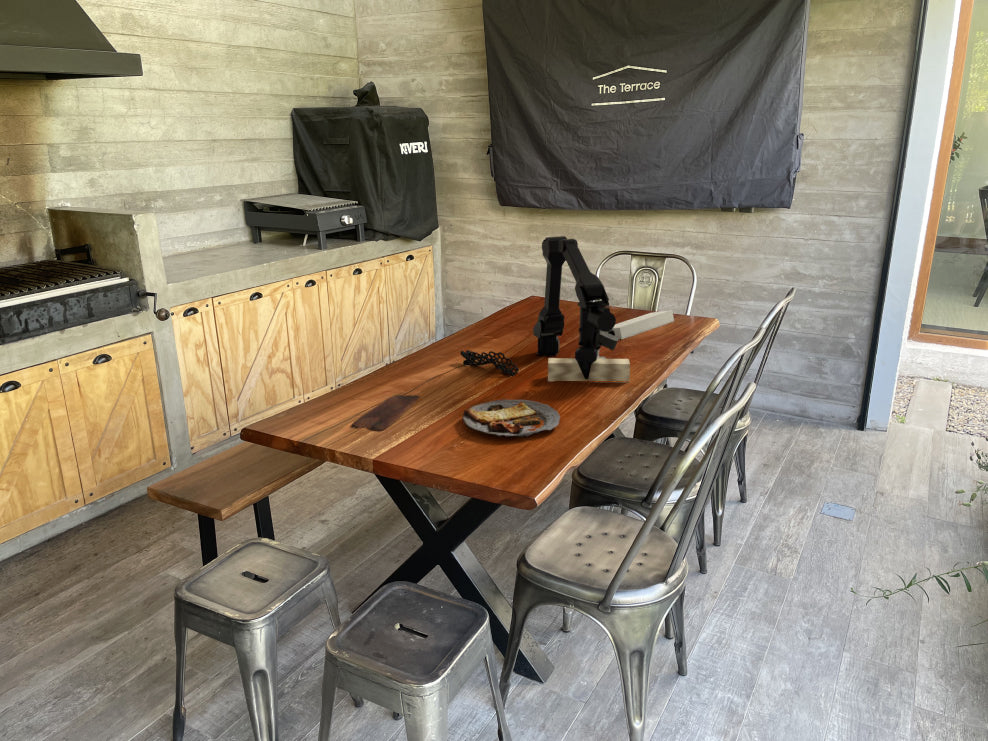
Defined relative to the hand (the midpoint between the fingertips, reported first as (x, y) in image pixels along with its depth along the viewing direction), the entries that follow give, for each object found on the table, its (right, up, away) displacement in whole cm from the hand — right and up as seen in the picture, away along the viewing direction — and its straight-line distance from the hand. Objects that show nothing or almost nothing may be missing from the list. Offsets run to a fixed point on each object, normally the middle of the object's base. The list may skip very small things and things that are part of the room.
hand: (588, 374), depth 225 cm
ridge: (+3, +3, +13) cm, 14 cm away
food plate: (-24, -13, -31) cm, 41 cm away
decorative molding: (+25, +16, +56) cm, 63 cm away
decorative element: (-30, +1, +12) cm, 32 cm away
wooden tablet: (-57, -11, -22) cm, 62 cm away
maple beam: (0, -2, +1) cm, 2 cm away
